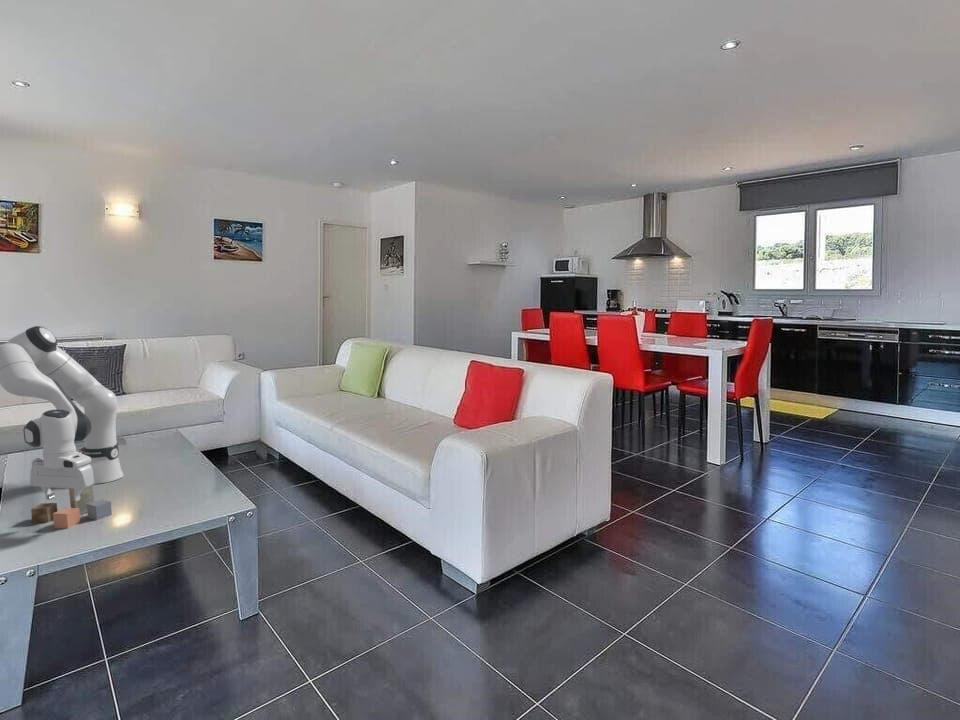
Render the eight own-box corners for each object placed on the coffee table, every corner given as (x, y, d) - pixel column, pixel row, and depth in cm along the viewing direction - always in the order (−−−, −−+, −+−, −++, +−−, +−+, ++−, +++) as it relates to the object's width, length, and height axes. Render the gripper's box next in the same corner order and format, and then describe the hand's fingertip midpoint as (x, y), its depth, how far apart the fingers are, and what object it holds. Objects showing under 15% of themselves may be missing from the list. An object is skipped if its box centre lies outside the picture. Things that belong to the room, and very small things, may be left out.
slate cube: (87, 517, 191) (86, 503, 190) (102, 512, 196) (101, 499, 195) (97, 520, 189) (96, 506, 188) (111, 515, 194) (110, 501, 193)
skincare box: (90, 507, 200) (88, 474, 199) (96, 510, 198) (93, 477, 196) (70, 513, 195) (67, 479, 193) (75, 515, 192) (72, 482, 191)
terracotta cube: (54, 527, 183) (52, 513, 182) (66, 521, 188) (65, 507, 187) (68, 528, 182) (66, 514, 182) (80, 522, 187) (79, 508, 187)
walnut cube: (32, 523, 186) (31, 508, 186) (42, 517, 191) (41, 503, 191) (48, 522, 187) (47, 508, 186) (57, 516, 192) (56, 502, 191)
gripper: (22, 460, 180) (26, 501, 182) (80, 463, 178) (83, 504, 179) (40, 455, 186) (43, 494, 188) (95, 457, 184) (98, 497, 186)
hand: (63, 499), depth 184 cm, fingers open, 8 cm apart
